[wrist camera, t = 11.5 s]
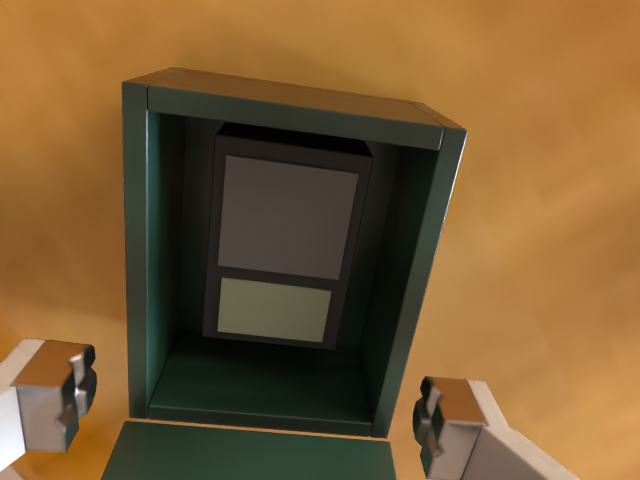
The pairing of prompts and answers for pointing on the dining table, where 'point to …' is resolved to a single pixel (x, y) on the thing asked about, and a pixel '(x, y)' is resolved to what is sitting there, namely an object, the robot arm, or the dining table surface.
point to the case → (192, 239)
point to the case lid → (242, 455)
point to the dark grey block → (282, 234)
